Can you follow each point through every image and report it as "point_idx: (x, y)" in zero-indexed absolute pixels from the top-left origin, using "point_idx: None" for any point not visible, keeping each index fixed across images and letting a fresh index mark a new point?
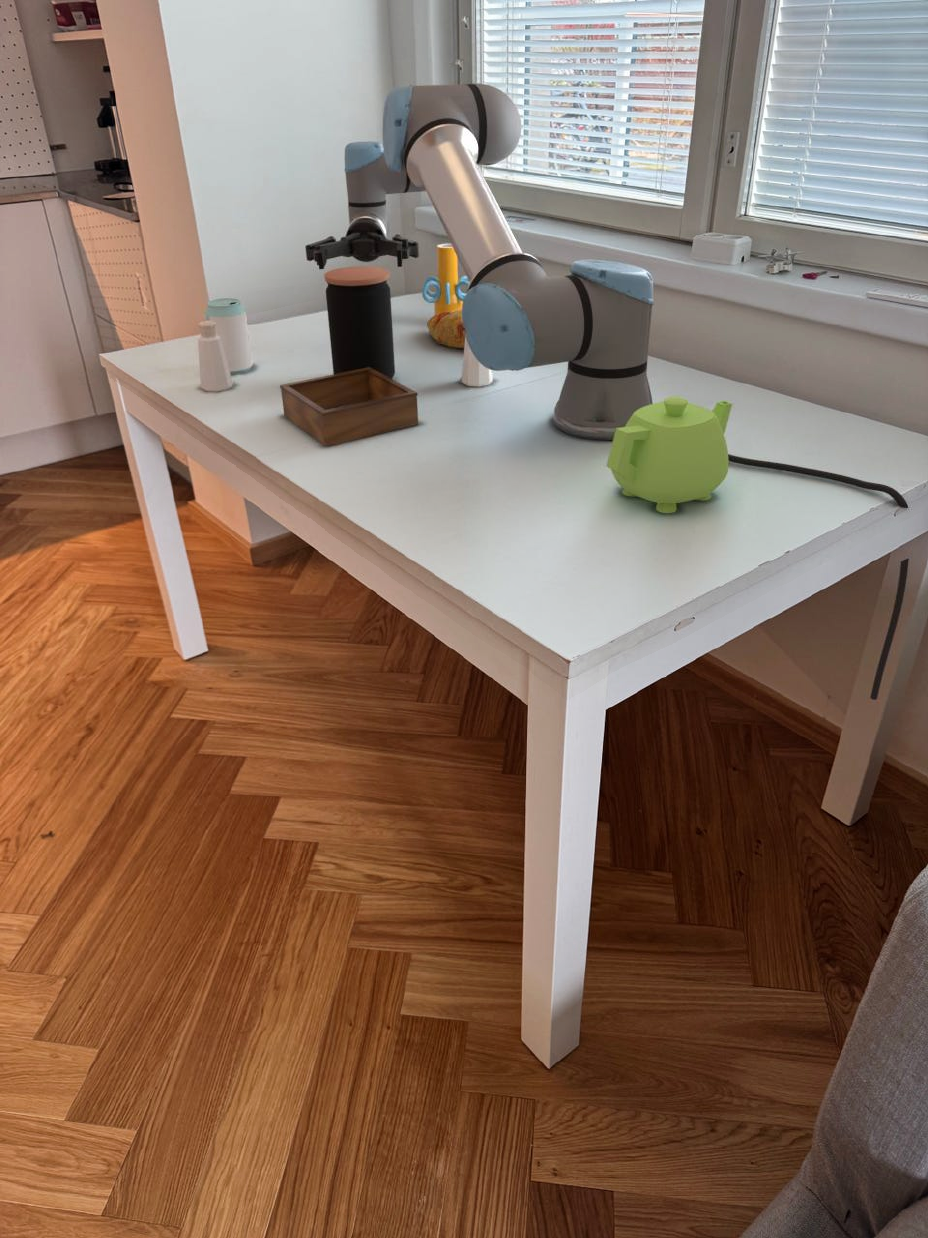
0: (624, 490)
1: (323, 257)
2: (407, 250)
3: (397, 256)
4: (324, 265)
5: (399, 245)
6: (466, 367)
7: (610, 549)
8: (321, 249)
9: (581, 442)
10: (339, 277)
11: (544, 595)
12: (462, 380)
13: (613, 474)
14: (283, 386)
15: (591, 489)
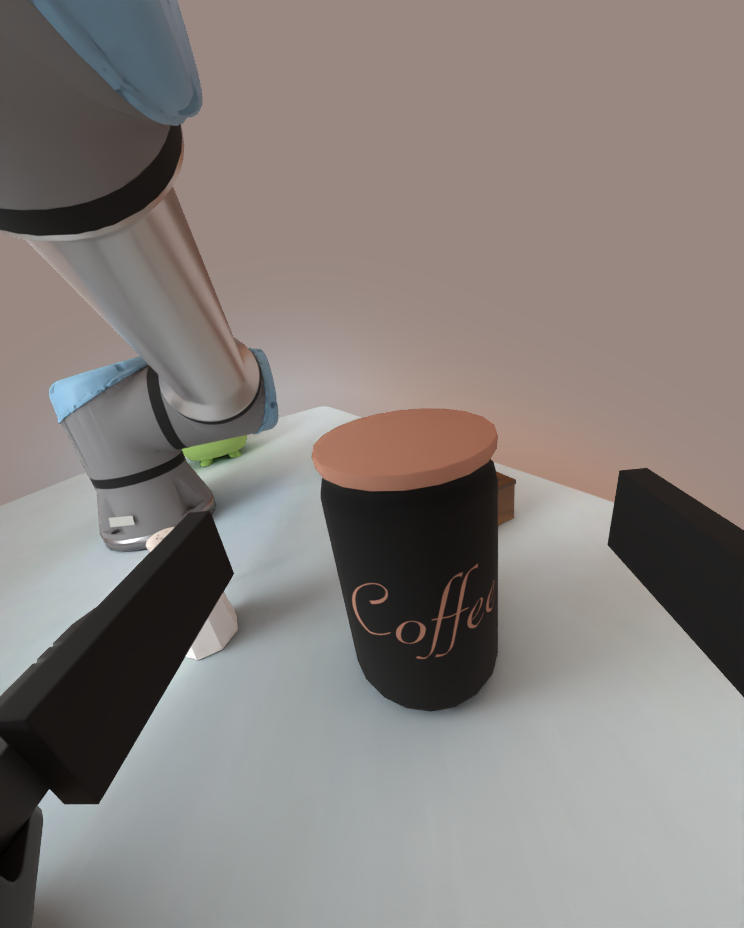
0: (240, 453)
1: (650, 535)
2: (87, 615)
3: (217, 536)
4: (652, 588)
5: (93, 627)
6: (224, 598)
7: (280, 430)
8: (720, 531)
9: (215, 493)
10: (439, 414)
11: (320, 415)
12: (236, 624)
13: (246, 438)
14: (507, 477)
15: (255, 455)
